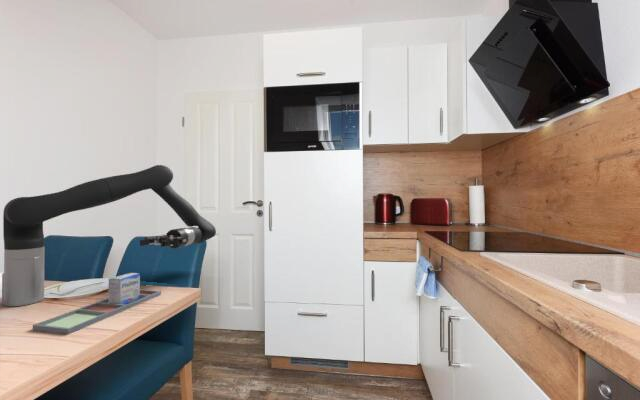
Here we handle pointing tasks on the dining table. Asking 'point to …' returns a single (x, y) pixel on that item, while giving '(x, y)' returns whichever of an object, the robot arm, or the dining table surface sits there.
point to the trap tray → (97, 309)
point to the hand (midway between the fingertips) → (151, 243)
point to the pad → (72, 320)
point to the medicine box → (124, 288)
